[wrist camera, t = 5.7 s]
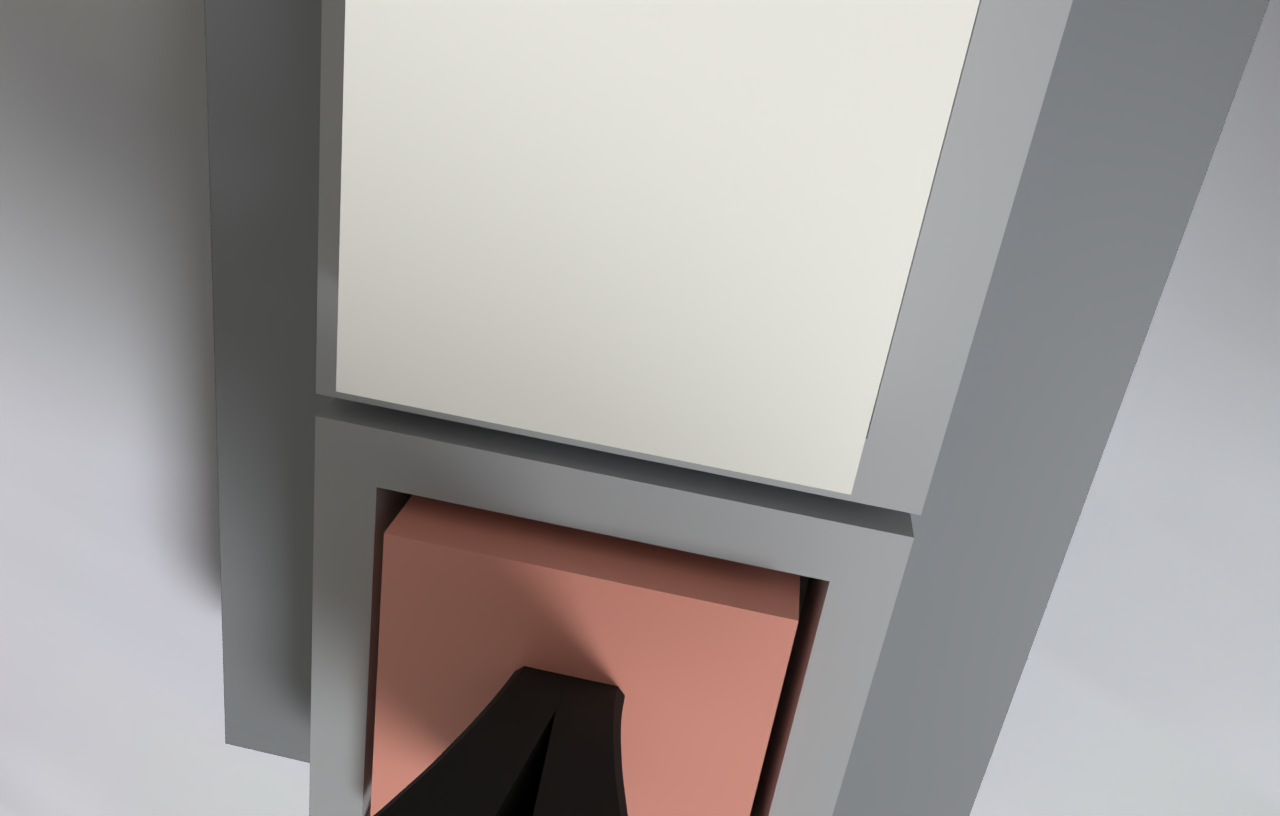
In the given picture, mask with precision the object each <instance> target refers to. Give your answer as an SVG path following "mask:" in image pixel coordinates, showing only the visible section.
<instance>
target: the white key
mask: <svg viewBox="0 0 1280 816" xmlns="http://www.w3.org/2000/svg"><path fill="white" fill-rule="evenodd" d="M979 1H980V0H345V40H344V81H343V122H342V163H341V205H340V246H339V287H338V328H337V369H336V392H341V393H346V394H351V395H356V396H361V397H366V398H371V399H376V400H381V401H386V402H391V403H396V404H401V405H406V406H411V407H416V408H421V409H426V410H431V411H436V412H441V413H446V414H451V415H456V416H461V417H466V418H471V419H476V420H481V421H486V422H491V423H496V424H501V425H506V426H511V427H516V428H521V429H526V430H531V431H536V432H541V433H546V434H551V435H556V436H561V437H566V438H571V439H575V440H580V441H585V442H590V443H595V444H600V445H605V446H610V447H615V448H620V449H625V450H630V451H635V452H640V453H645V454H650V455H655V456H660V457H665V458H670V459H675V460H680V461H685V462H690V463H695V464H700V465H705V466H710V467H715V468H720V469H725V470H730V471H735V472H740V473H745V474H750V475H755V476H760V477H765V478H770V479H775V480H780V481H785V482H790V483H795V484H800V485H805V486H810V487H815V488H820V489H825V490H829V491H834V492H839V493H844V494H849V495H851V493H852V489H853V485H854V481H855V477H856V474H857V470H858V466H859V462H860V458H861V454H862V451H863V447H864V443H865V439H866V435H867V431H868V428H869V424H870V420H871V416H872V412H873V408H874V404H875V401H876V397H877V393H878V389H879V385H880V381H881V378H882V374H883V370H884V366H885V362H886V358H887V355H888V351H889V347H890V343H891V339H892V335H893V332H894V328H895V324H896V320H897V316H898V312H899V309H900V305H901V301H902V297H903V293H904V289H905V286H906V282H907V278H908V274H909V270H910V266H911V262H912V259H913V255H914V251H915V247H916V243H917V239H918V236H919V232H920V228H921V224H922V220H923V216H924V213H925V209H926V205H927V201H928V197H929V193H930V190H931V186H932V182H933V178H934V174H935V170H936V167H937V163H938V159H939V155H940V151H941V147H942V143H943V140H944V136H945V132H946V128H947V124H948V120H949V117H950V113H951V109H952V105H953V101H954V97H955V94H956V90H957V86H958V82H959V78H960V74H961V71H962V67H963V63H964V59H965V55H966V51H967V48H968V44H969V40H970V36H971V32H972V28H973V25H974V21H975V17H976V13H977V9H978V5H979Z"/></svg>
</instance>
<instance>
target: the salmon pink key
mask: <svg viewBox="0 0 1280 816" xmlns="http://www.w3.org/2000/svg"><path fill="white" fill-rule="evenodd" d="M799 594H800V575H797V574H792V573H787V572H782V571H777V570H773V569H768V568H763V567H758V566H753V565H749V564H744V563H739V562H734V561H729V560H725V559H720V558H715V557H710V556H705V555H700V554H696V553H691V552H686V551H681V550H676V549H672V548H667V547H662V546H657V545H652V544H648V543H643V542H638V541H633V540H628V539H624V538H619V537H614V536H609V535H604V534H600V533H595V532H590V531H585V530H580V529H576V528H571V527H566V526H561V525H556V524H551V523H547V522H542V521H537V520H532V519H527V518H523V517H518V516H513V515H508V514H503V513H499V512H494V511H489V510H484V509H479V508H475V507H470V506H465V505H460V504H455V503H451V502H446V501H441V500H436V499H431V498H426V497H422V496H417V495H412V496H411V497H410V499H409V500H408V502H407V503H406V504H405V506H404V507H403V508H402V510H401V511H400V512H399V514H398V515H397V516H396V518H395V519H394V520H393V522H392V523H391V524H390V526H389V527H388V528H387V530H386V531H385V532H384V541H383V562H382V583H381V603H380V624H379V645H378V666H377V687H376V707H375V728H374V749H373V770H372V790H371V811H370V816H373V815H375V814H376V813H377V812H378V811H379V810H381V809H382V808H383V807H384V806H385V805H386V804H387V803H389V802H390V801H391V800H392V799H393V798H394V797H395V796H396V795H397V794H399V793H400V792H401V791H402V790H403V789H404V788H405V787H406V786H408V785H409V784H410V783H411V782H412V781H413V780H414V779H415V778H417V777H418V776H419V775H420V774H421V773H422V772H423V771H424V770H425V769H426V768H427V767H428V766H429V765H431V764H432V763H433V762H434V761H435V760H436V759H437V758H438V757H439V756H440V755H441V754H442V753H443V752H444V751H445V750H446V748H447V747H448V746H449V745H450V744H451V743H452V742H453V741H454V740H455V739H456V738H457V737H458V736H459V735H460V734H461V733H462V732H463V731H464V730H465V729H466V728H467V727H468V726H469V725H470V724H471V723H472V722H473V721H474V719H475V718H476V717H477V716H478V715H479V714H480V713H481V712H482V711H483V710H484V708H485V707H486V706H487V705H488V704H489V703H490V702H491V700H492V699H493V698H494V697H495V696H496V694H497V693H498V692H499V691H500V690H501V688H502V687H503V686H504V685H505V683H506V682H507V681H508V680H509V678H510V677H511V676H512V674H513V673H514V671H516V670H518V669H520V668H521V667H523V666H527V667H532V668H536V669H541V670H545V671H550V672H554V673H559V674H563V675H568V676H573V677H577V678H582V679H586V680H591V681H596V682H601V683H605V684H610V685H615V686H618V687H619V688H620V690H621V691H622V692H623V694H624V695H625V699H624V705H623V710H622V719H621V754H622V771H623V782H624V789H625V797H626V805H627V812H628V816H750V813H751V809H752V805H753V801H754V797H755V793H756V789H757V785H758V781H759V777H760V773H761V769H762V765H763V761H764V757H765V753H766V749H767V745H768V741H769V737H770V733H771V729H772V725H773V721H774V717H775V713H776V709H777V705H778V701H779V697H780V693H781V689H782V685H783V681H784V677H785V673H786V669H787V665H788V661H789V657H790V653H791V649H792V645H793V641H794V637H795V634H796V630H797V626H798V622H799Z"/></svg>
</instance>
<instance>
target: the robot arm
mask: <svg viewBox="0 0 1280 816" xmlns="http://www.w3.org/2000/svg"><path fill="white" fill-rule="evenodd" d="M624 699H625V695H624V694H623V692H622V691H621V690H620V688H619V687H618V686H615V685H610V684H605V683H601V682H596V681H591V680H586V679H582V678H577V677H573V676H568V675H563V674H559V673H554V672H550V671H545V670H541V669H536V668H532V667H527V666H523V667H521V668H520V669H518V670H516V671H514V673H513V674H512V676H511V677H510V678H509V680H508V681H507V682H506V683H505V685H504V686H503V687H502V688H501V690H500V691H499V692H498V693H497V694H496V696H495V697H494V698H493V699H492V700H491V702H490V703H489V704H488V705H487V706H486V707H485V708H484V710H483V711H482V712H481V713H480V714H479V715H478V716H477V717H476V718H475V719H474V721H473V722H472V723H471V724H470V725H469V726H468V727H467V728H466V729H465V730H464V731H463V732H462V733H461V734H460V735H459V736H458V737H457V738H456V739H455V740H454V741H453V742H452V743H451V744H450V745H449V746H448V747H447V748H446V750H445V751H444V752H443V753H442V754H441V755H440V756H439V757H438V758H437V759H436V760H435V761H434V762H433V763H432V764H431V765H429V766H428V767H427V768H426V769H425V770H424V771H423V772H422V773H421V774H420V775H419V776H418V777H417V778H415V779H414V780H413V781H412V782H411V783H410V784H409V785H408V786H406V787H405V788H404V789H403V790H402V791H401V792H400V793H399V794H397V795H396V796H395V797H394V798H393V799H392V800H391V801H390V802H389V803H387V804H386V805H385V806H384V807H383V808H382V809H381V810H379V811H378V812H377V813H376V814H375V815H373V816H628V812H627V805H626V797H625V789H624V782H623V771H622V754H621V719H622V710H623V705H624Z"/></svg>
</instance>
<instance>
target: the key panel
mask: <svg viewBox="0 0 1280 816" xmlns="http://www.w3.org/2000/svg"><path fill="white" fill-rule="evenodd" d="M1269 1H1270V0H980V1H979V5H978V9H977V13H976V17H975V21H974V25H973V28H972V32H971V36H970V40H969V44H968V48H967V51H966V55H965V59H964V63H963V67H962V71H961V74H960V78H959V82H958V86H957V90H956V94H955V97H954V101H953V105H952V109H951V113H950V117H949V120H948V124H947V128H946V132H945V136H944V140H943V143H942V147H941V151H940V155H939V159H938V163H937V167H936V170H935V174H934V178H933V182H932V186H931V190H930V193H929V197H928V201H927V205H926V209H925V213H924V216H923V220H922V224H921V228H920V232H919V236H918V239H917V243H916V247H915V251H914V255H913V259H912V262H911V266H910V270H909V274H908V278H907V282H906V286H905V289H904V293H903V297H902V301H901V305H900V309H899V312H898V316H897V320H896V324H895V328H894V332H893V335H892V339H891V343H890V347H889V351H888V355H887V358H886V362H885V366H884V370H883V374H882V378H881V381H880V385H879V389H878V393H877V397H876V401H875V404H874V408H873V412H872V416H871V420H870V424H869V428H868V431H867V435H866V439H865V443H864V447H863V451H862V454H861V458H860V462H859V466H858V470H857V474H856V477H855V481H854V485H853V489H852V493H851V495H849V494H844V493H839V492H834V491H829V490H825V489H820V488H815V487H810V486H805V485H800V484H795V483H790V482H785V481H780V480H775V479H770V478H765V477H760V476H755V475H750V474H745V473H740V472H735V471H730V470H725V469H720V468H715V467H710V466H705V465H700V464H695V463H690V462H685V461H680V460H675V459H670V458H665V457H660V456H655V455H650V454H645V453H640V452H635V451H630V450H625V449H620V448H615V447H610V446H605V445H600V444H595V443H590V442H585V441H580V440H575V439H571V438H566V437H561V436H556V435H551V434H546V433H541V432H536V431H531V430H526V429H521V428H516V427H511V426H506V425H501V424H496V423H491V422H486V421H481V420H476V419H471V418H466V417H461V416H456V415H451V414H446V413H441V412H436V411H431V410H426V409H421V408H416V407H411V406H406V405H401V404H396V403H391V402H386V401H381V400H376V399H371V398H366V397H361V396H356V395H351V394H346V393H341V392H336V369H337V328H338V287H339V246H340V205H341V163H342V122H343V81H344V40H345V0H205V34H206V69H207V105H208V140H209V176H210V211H211V247H212V282H213V318H214V353H215V388H216V424H217V459H218V495H219V530H220V566H221V601H222V637H223V672H224V707H225V743H226V744H231V745H235V746H239V747H243V748H248V749H252V750H256V751H261V752H265V753H269V754H274V755H278V756H282V757H287V758H291V759H295V760H299V761H304V762H308V763H310V799H309V816H370V811H371V790H372V770H373V749H374V728H375V707H376V687H377V666H378V645H379V624H380V603H381V583H382V562H383V541H384V532H385V531H386V530H387V528H388V527H389V526H390V524H391V523H392V522H393V520H394V519H395V518H396V516H397V515H398V514H399V512H400V511H401V510H402V508H403V507H404V506H405V504H406V503H407V502H408V500H409V499H410V497H411V496H412V495H417V496H422V497H426V498H431V499H436V500H441V501H446V502H451V503H455V504H460V505H465V506H470V507H475V508H479V509H484V510H489V511H494V512H499V513H503V514H508V515H513V516H518V517H523V518H527V519H532V520H537V521H542V522H547V523H551V524H556V525H561V526H566V527H571V528H576V529H580V530H585V531H590V532H595V533H600V534H604V535H609V536H614V537H619V538H624V539H628V540H633V541H638V542H643V543H648V544H652V545H657V546H662V547H667V548H672V549H676V550H681V551H686V552H691V553H696V554H700V555H705V556H710V557H715V558H720V559H725V560H729V561H734V562H739V563H744V564H749V565H753V566H758V567H763V568H768V569H773V570H777V571H782V572H787V573H792V574H797V575H800V594H799V622H798V626H797V630H796V634H795V637H794V641H793V645H792V649H791V653H790V657H789V661H788V665H787V669H786V673H785V677H784V681H783V685H782V689H781V693H780V697H779V701H778V705H777V709H776V713H775V717H774V721H773V725H772V729H771V733H770V737H769V741H768V745H767V749H766V753H765V757H764V761H763V765H762V769H761V773H760V777H759V781H758V785H757V789H756V793H755V797H754V801H753V805H752V809H751V813H750V816H969V815H970V812H971V809H972V807H973V804H974V801H975V799H976V796H977V793H978V790H979V788H980V785H981V782H982V780H983V777H984V774H985V771H986V769H987V766H988V763H989V761H990V758H991V755H992V752H993V750H994V747H995V744H996V742H997V739H998V736H999V733H1000V731H1001V728H1002V725H1003V723H1004V720H1005V717H1006V714H1007V712H1008V709H1009V706H1010V704H1011V701H1012V698H1013V695H1014V693H1015V690H1016V687H1017V685H1018V682H1019V679H1020V676H1021V674H1022V671H1023V668H1024V666H1025V663H1026V660H1027V657H1028V655H1029V652H1030V649H1031V647H1032V644H1033V641H1034V638H1035V636H1036V633H1037V630H1038V628H1039V625H1040V622H1041V619H1042V617H1043V614H1044V611H1045V609H1046V606H1047V603H1048V600H1049V598H1050V595H1051V592H1052V590H1053V587H1054V584H1055V581H1056V579H1057V576H1058V573H1059V571H1060V568H1061V565H1062V562H1063V560H1064V557H1065V554H1066V552H1067V549H1068V546H1069V544H1070V541H1071V538H1072V535H1073V533H1074V530H1075V527H1076V525H1077V522H1078V519H1079V516H1080V514H1081V511H1082V508H1083V506H1084V503H1085V500H1086V497H1087V495H1088V492H1089V489H1090V487H1091V484H1092V481H1093V478H1094V476H1095V473H1096V470H1097V468H1098V465H1099V462H1100V459H1101V457H1102V454H1103V451H1104V449H1105V446H1106V443H1107V440H1108V438H1109V435H1110V432H1111V430H1112V427H1113V424H1114V421H1115V419H1116V416H1117V413H1118V411H1119V408H1120V405H1121V402H1122V400H1123V397H1124V394H1125V392H1126V389H1127V386H1128V383H1129V381H1130V378H1131V375H1132V373H1133V370H1134V367H1135V364H1136V362H1137V359H1138V356H1139V354H1140V351H1141V348H1142V345H1143V343H1144V340H1145V337H1146V335H1147V332H1148V329H1149V326H1150V324H1151V321H1152V318H1153V316H1154V313H1155V310H1156V307H1157V305H1158V302H1159V299H1160V297H1161V294H1162V291H1163V288H1164V286H1165V283H1166V280H1167V278H1168V275H1169V272H1170V269H1171V267H1172V264H1173V261H1174V259H1175V256H1176V253H1177V250H1178V248H1179V245H1180V242H1181V240H1182V237H1183V234H1184V231H1185V229H1186V226H1187V223H1188V221H1189V218H1190V215H1191V212H1192V210H1193V207H1194V204H1195V202H1196V199H1197V196H1198V193H1199V191H1200V188H1201V185H1202V183H1203V180H1204V177H1205V174H1206V172H1207V169H1208V166H1209V164H1210V161H1211V158H1212V155H1213V153H1214V150H1215V147H1216V145H1217V142H1218V139H1219V136H1220V134H1221V131H1222V128H1223V126H1224V123H1225V120H1226V117H1227V115H1228V112H1229V109H1230V107H1231V104H1232V101H1233V98H1234V96H1235V93H1236V90H1237V88H1238V85H1239V82H1240V79H1241V77H1242V74H1243V71H1244V69H1245V66H1246V63H1247V60H1248V58H1249V55H1250V52H1251V50H1252V47H1253V44H1254V41H1255V39H1256V36H1257V33H1258V31H1259V28H1260V25H1261V22H1262V20H1263V17H1264V14H1265V12H1266V9H1267V6H1268V3H1269Z"/></svg>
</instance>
